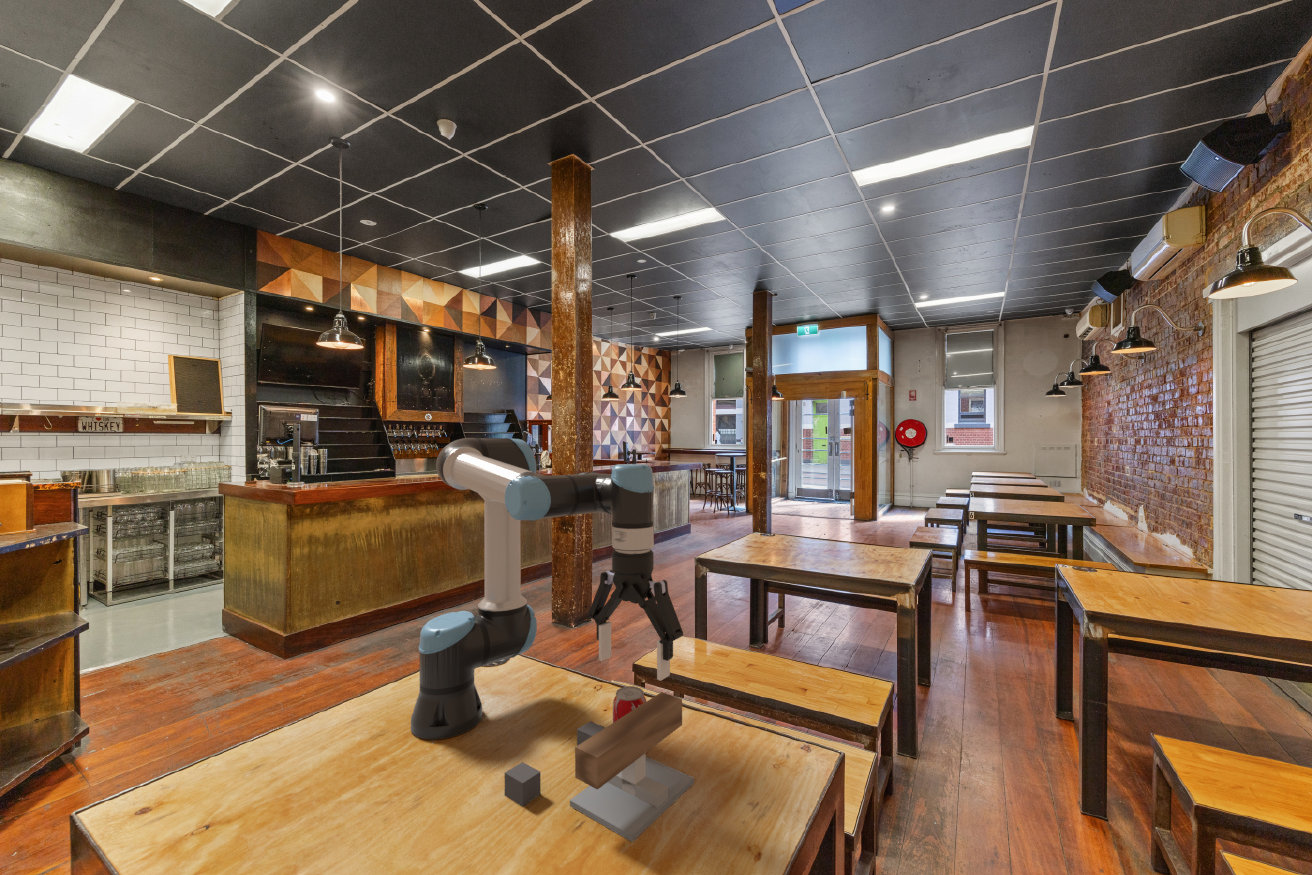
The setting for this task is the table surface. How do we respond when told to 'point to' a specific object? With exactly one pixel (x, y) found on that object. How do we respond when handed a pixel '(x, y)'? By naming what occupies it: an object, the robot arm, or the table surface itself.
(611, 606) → the robot arm
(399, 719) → the table surface
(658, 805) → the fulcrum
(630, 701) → the soda can
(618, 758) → the bar
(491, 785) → the table surface
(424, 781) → the table surface
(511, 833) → the table surface
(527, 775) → the rest near
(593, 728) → the block
